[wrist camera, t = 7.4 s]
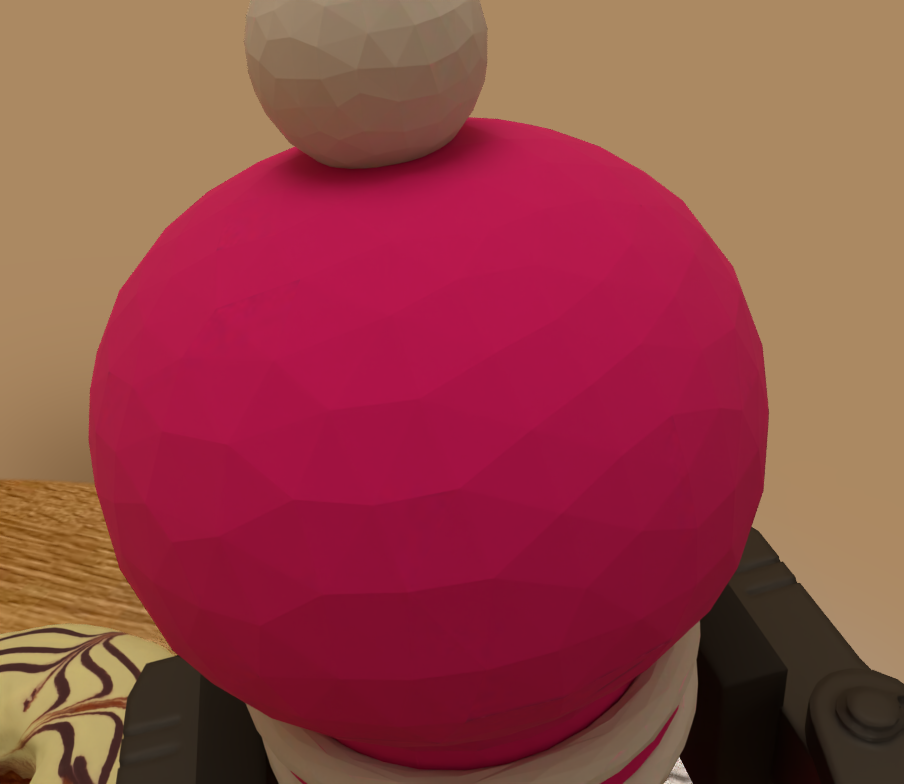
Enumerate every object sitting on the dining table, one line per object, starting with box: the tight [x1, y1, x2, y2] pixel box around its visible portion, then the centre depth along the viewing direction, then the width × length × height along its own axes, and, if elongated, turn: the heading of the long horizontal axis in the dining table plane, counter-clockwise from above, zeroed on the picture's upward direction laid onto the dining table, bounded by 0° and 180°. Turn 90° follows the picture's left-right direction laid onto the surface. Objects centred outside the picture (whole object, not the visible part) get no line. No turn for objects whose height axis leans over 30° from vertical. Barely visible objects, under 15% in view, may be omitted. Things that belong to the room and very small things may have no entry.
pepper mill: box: [89, 0, 769, 784], centre depth 11 cm, size 7×7×20 cm
